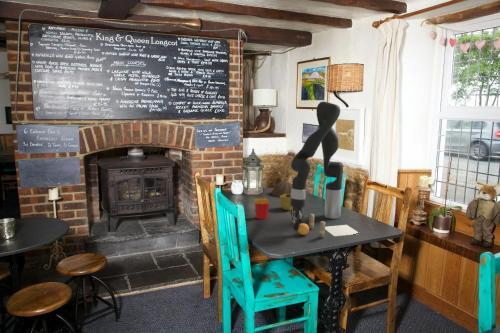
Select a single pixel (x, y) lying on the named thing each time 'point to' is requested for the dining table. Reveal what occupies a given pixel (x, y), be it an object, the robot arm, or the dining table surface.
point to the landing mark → (340, 230)
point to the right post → (322, 229)
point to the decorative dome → (282, 189)
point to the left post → (311, 221)
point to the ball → (303, 229)
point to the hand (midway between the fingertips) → (295, 229)
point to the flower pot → (286, 202)
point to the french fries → (261, 208)
